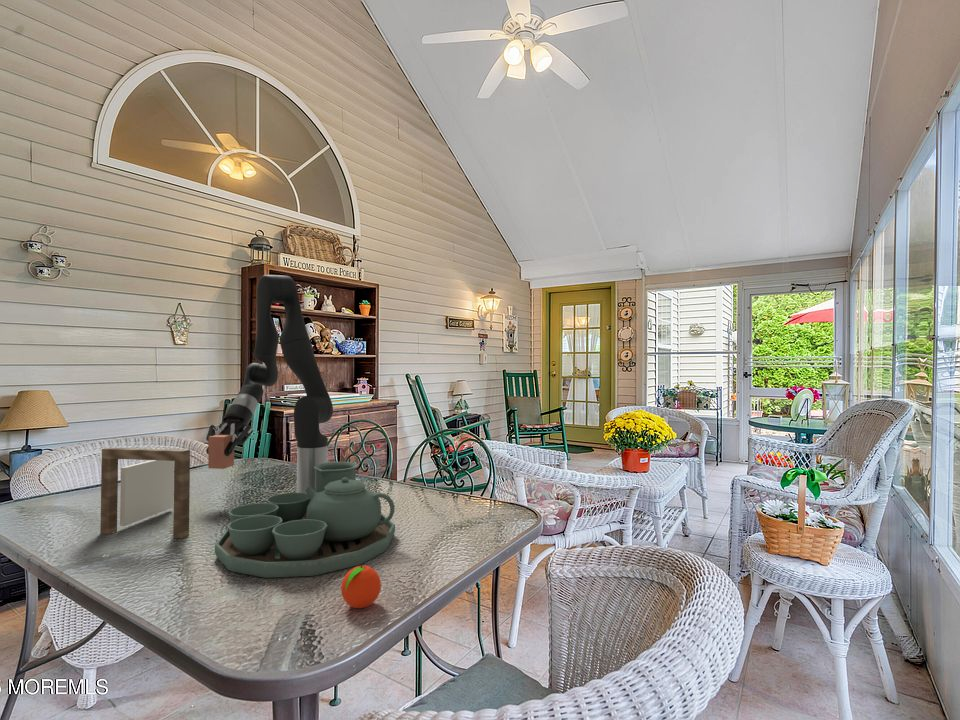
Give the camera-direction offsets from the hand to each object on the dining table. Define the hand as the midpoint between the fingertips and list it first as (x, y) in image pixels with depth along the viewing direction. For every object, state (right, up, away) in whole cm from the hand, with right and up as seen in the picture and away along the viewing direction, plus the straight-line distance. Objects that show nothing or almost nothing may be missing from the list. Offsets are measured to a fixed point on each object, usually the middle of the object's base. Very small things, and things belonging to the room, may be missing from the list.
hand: (217, 454), depth 150 cm
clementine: (+58, -16, -62) cm, 86 cm away
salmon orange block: (0, -4, +2) cm, 5 cm away
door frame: (-5, -16, -25) cm, 30 cm away
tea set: (+39, -16, -31) cm, 52 cm away
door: (-13, -15, -13) cm, 23 cm away
